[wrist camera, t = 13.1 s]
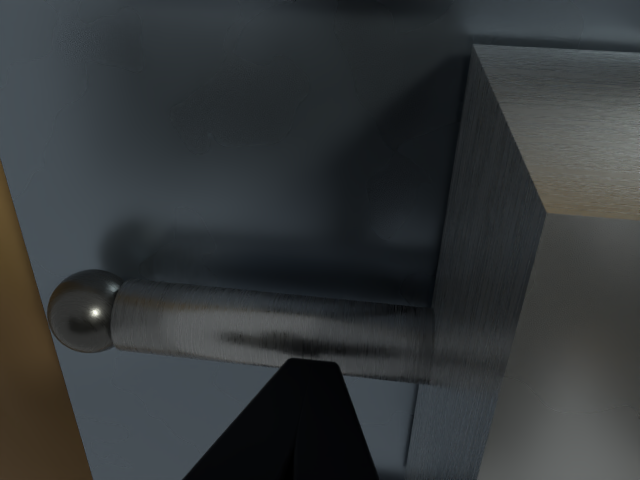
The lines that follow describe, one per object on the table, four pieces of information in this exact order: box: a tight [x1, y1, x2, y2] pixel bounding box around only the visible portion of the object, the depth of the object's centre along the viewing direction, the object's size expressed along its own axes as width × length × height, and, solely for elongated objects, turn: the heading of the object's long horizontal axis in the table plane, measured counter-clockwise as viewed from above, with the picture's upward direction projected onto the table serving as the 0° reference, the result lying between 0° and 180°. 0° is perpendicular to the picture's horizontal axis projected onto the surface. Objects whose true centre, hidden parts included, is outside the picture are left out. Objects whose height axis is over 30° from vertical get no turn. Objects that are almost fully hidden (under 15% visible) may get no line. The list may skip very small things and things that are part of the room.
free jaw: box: [47, 44, 640, 480], centre depth 8 cm, size 9×9×5 cm
